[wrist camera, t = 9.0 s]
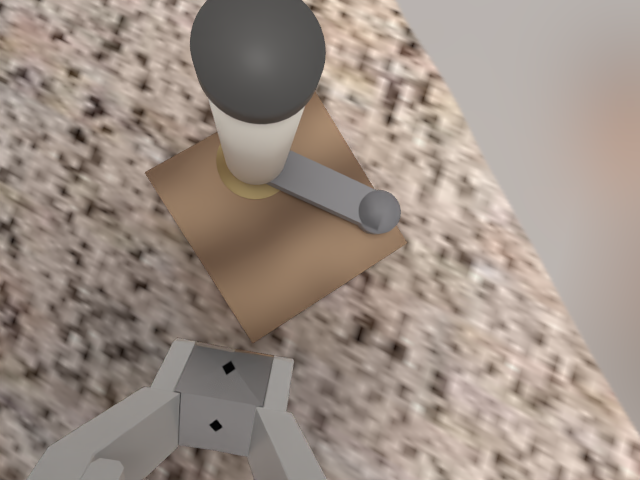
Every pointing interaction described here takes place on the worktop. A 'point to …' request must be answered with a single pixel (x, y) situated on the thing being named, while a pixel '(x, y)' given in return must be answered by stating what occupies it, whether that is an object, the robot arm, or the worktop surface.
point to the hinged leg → (275, 103)
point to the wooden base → (269, 227)
